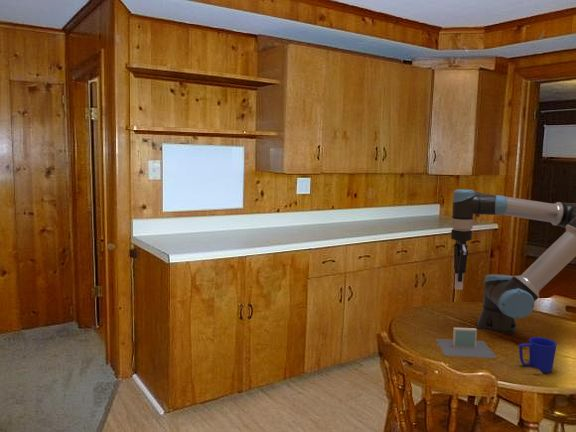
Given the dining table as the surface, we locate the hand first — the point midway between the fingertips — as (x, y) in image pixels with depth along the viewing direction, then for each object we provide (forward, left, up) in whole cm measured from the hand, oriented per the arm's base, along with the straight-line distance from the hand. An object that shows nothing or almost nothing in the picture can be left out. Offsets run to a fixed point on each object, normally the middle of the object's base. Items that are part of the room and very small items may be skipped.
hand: (458, 288), depth 189 cm
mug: (-20, +26, -21) cm, 39 cm away
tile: (0, +12, -19) cm, 22 cm away
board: (0, +13, -20) cm, 24 cm away
